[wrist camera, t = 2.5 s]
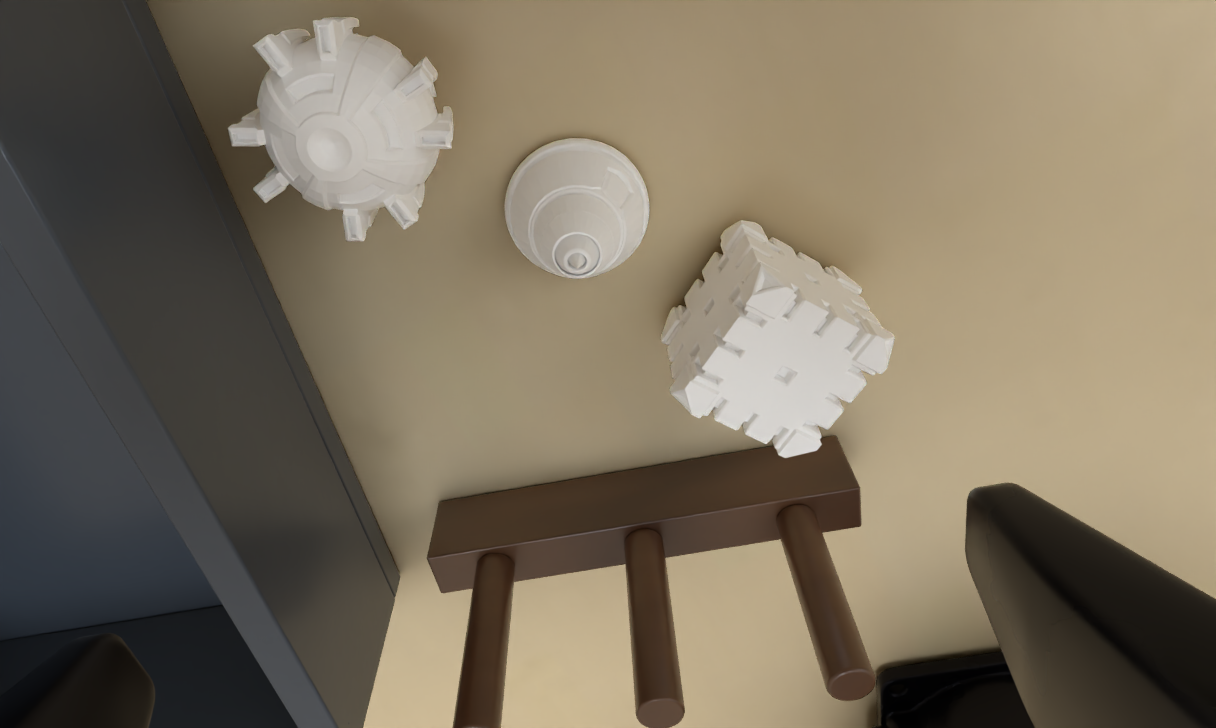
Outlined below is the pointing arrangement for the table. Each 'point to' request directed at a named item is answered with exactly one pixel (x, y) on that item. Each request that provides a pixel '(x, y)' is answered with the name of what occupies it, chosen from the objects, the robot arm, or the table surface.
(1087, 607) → the robot arm
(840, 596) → the drying rack
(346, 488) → the open box
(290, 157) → the game pieces
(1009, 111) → the table surface
